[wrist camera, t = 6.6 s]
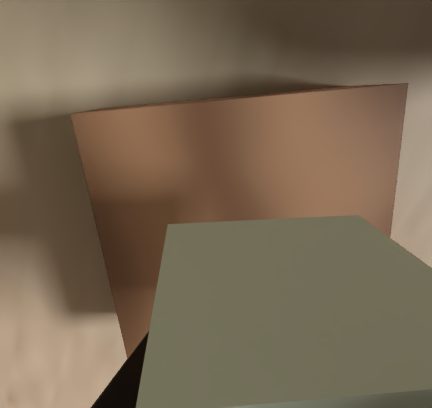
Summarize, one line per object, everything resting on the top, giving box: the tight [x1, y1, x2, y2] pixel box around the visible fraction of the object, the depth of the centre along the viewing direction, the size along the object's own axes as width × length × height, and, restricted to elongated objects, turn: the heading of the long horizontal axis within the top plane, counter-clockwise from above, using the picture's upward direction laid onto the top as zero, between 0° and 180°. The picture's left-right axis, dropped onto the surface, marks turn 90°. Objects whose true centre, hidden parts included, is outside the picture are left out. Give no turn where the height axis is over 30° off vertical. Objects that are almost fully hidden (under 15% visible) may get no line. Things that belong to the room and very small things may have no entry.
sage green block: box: [136, 215, 432, 408], centre depth 7 cm, size 5×5×5 cm
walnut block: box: [71, 83, 408, 358], centre depth 15 cm, size 12×12×5 cm
